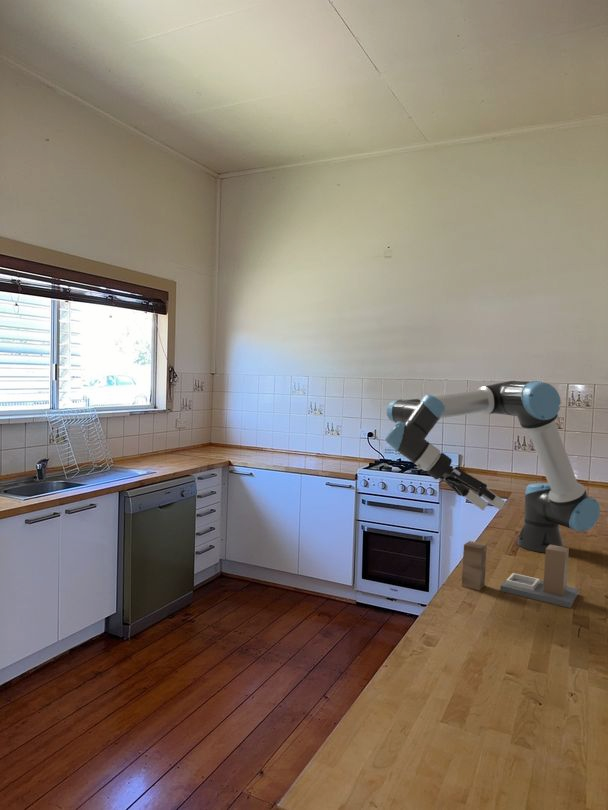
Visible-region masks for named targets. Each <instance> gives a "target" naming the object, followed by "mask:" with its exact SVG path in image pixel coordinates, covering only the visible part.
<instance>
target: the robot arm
mask: <svg viewBox="0 0 608 810" xmlns="http://www.w3.org/2000/svg"><path fill="white" fill-rule="evenodd" d="M560 405H561V396H560V394H559V392H558V390H557V388H555V387H554V386H553V385H552V384H550V383H547V382H542V381H540V380H539V381H537V380H534V381H532V380H531V381H525V380H524V381H521V380H520V381H519V380H518V381H517V380H509V381H503V382H498V383H493V384H489V385H483V386H482V385H481V386H480V387H478V388H477V389H476V390H469V391H463V392H462V391H461V392H454V393H448V394H441V395H432V394H425V395H424V396H423V397H419V398H411V399H404V400H403V399H395V400H392V401H391V402H389V404H388V405H387V408H386V416H387V419H388V420H390V421H391V422H392V423H395V424H394V425H393V426H392V428H391V429H390V430H389V432H388V433H387V435H386V437H385V442H386V443H387V444H388V445H389V446H390V447H391V448H392V449H393V450H394V451H396V452H398V453H399V454H401V455H402V456H403V457H404V458H406V459H408V460H409V461H411V462H412V463H413V464H414V465H416V469H421V470H422V471H425V472H426V473H427V474H428V475H429V476H430V477H432V478H433V479H434V480H439V479H440V480H442V481H443V482H444V483H445V484H446V485H448V487H450V489H452V490H453V491H454V492H455V493H456V494H457V495H458V496H460V497H464V498H465V499H467V500H468V501H469V502H471V503H472V504H473V505H475V506H476V507H478V508H479V509H480V510H481V511H485V509H486V507H488V505H489V503H490V505H492V506H493V507H495V508H496V509H498V510H499V511H501V510H502V509H503V507H504V505H505V504H506V501H505V500H504V499H502V498H501V497H500V496H498V494H496V493H494V491H492V490H490V489H489V488H488V485H487V484H486V483H484V482H482V481H481V480H479V479H478V478H476V477H474V476H472V475H470V474H469V473H467V472H465V471H463V470H462V469H461V468H459V467H458V466H455V467H454V468H453V467H451V464H452V462H453V460H452V458H451V457H449V456H448V455H446V454H445V453H443V452H441V449H439V448H437V447H436V446H434V444H432V443H430V442H429V441H427V439H426V438H427V436H428V435H429V434H430V432H431V431H432V430H433V429H434V427H435V426H436V424H437V423H438V421H439V420H441V419H444V418H445V419H446V418H452V417H458V416H459V417H460V416H466V415H471V414H472V415H473V414H478V413H481V414H482V415H492V414H493V415H506V416H511V417H512V416H513V417H517V419H518V422H519V424H520V427H521V428H522V429H523V430H527V431H528V434H529V436H530V439H531V441H532V444H533V447H534V450H535V453H536V455H537V457H538V461H539V463H540V465H541V468H542V470H543V473H544V476H545V478H546V483H543V482H542V483H541V482H539V483H537V482H536V483H529V484H528V485H527V486H526V488H525V493H524V519H523V525H522V527H521V530H520V532H519V535H518V537H517V545H518V546H519V547H520V548H522V549H525V550H527V551H533V552H538V553H543V554H544V553H546V548H547V547H548V546H549V544H550V545H556V546H561V547H564V542H563V538H562V535H561V531H560V526H562V527H564V528H567V529H570V530H572V531H578V532H587V531H589V530H591V529H592V528H594V526H595V525H596V524H597V522H598V520H599V517H600V515H601V506H600V504H599V502H598V500H596V499H595V498H594V497H589V496H588V493H587V490H586V487H585V486H584V485H583V484H582V483H579V482H578V480H577V477H576V475H575V472H574V470H573V467H572V464H571V462H570V459H569V457H568V456H569V455H568V453H567V451H566V447H565V445H564V443H563V439H562V438H561V437H562V436H561V434H560V432H559V429H558V426H557V424H556V421H557V419H558V417H559V415H558V414H559V412H560V409H561V407H560Z"/></svg>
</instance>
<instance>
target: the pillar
mask: <svg viewBox="0 0 608 810" xmlns="http://www.w3.org/2000/svg"><path fill="white" fill-rule="evenodd" d="M487 548H488V545H487V543H481V542H477V541H471V540H468V542H466V543H465V544H463V555H462V556H463V557H462V572H461V587H464V588H468V589H471V590H476V591H480V590H482V588H484V587H485V586H486V585H485V584H486V567H487V566H486V565H487V552H488V551H487Z"/></svg>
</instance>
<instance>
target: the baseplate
mask: <svg viewBox="0 0 608 810" xmlns="http://www.w3.org/2000/svg"><path fill="white" fill-rule="evenodd" d="M569 551H570V547H565V546H563V547H561V546H556V545H550V544H549V546H548V547H547V548H546V553H545V556H544V557H545V558H544V569H543V570H544V571H543V572H544V573H543V580H541V579H540V578H536V577H532V576H528V575H524V574H519V573H515V572H512V573H511V574H510V576H509V577H507V578H506V580H505V581H504V582H503V583H501V585H500V592H503V593H505V594H506V593H507V594H510V595H515V596H519V597H524V598H528V599H531V600H532V599H533V600H535V601H539V602H543V603H544V602H545V603H547V604H548V603H549V604H553V605H556V606H561V607H565V608H568V609H571V608H572V606H573V604H574V602H575V600H576V599H577V597H578V595H579V588H576V587H575V588H574V587H570V586H567V584H568V570H569V569H568V567H569V553H570V552H569Z"/></svg>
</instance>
